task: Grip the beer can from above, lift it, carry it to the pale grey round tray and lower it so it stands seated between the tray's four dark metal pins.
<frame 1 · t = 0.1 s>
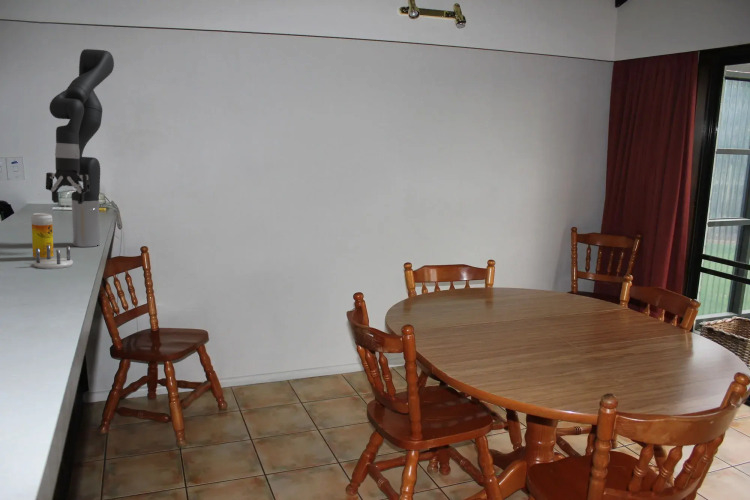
hand: (68, 203, 210), 17 cm above the table, tool pointing down, fingers open, 8 cm apart
pin tray: (53, 265, 191), on the table
beer can: (43, 258, 200), on the table
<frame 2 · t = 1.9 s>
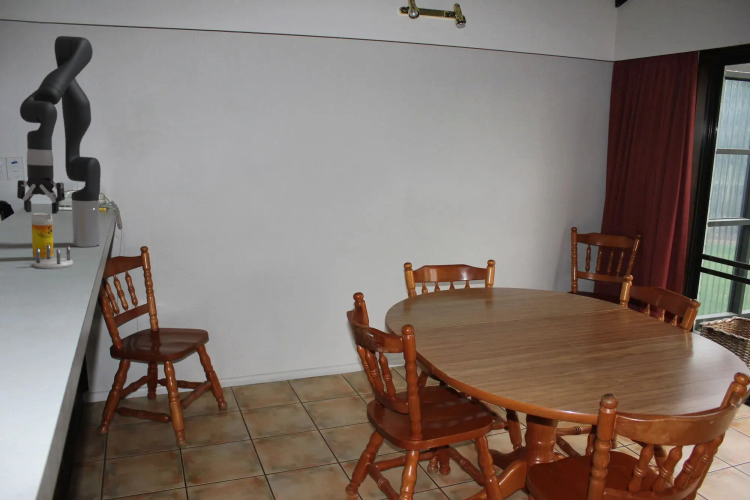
hand: (41, 212, 197), 15 cm above the table, tool pointing down, fingers open, 8 cm apart
nothing on the table moved.
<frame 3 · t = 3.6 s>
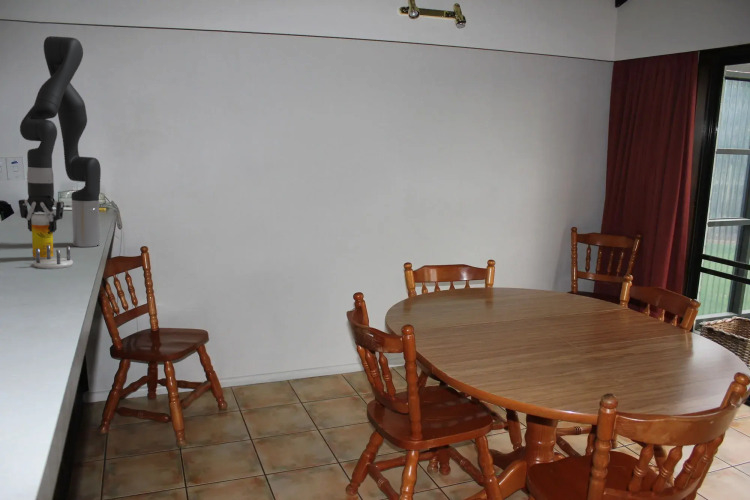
hand: (42, 231, 198), 9 cm above the table, tool pointing down, fingers closed on beer can, 6 cm apart
beer can: (43, 258, 200), on the table, touching gripper
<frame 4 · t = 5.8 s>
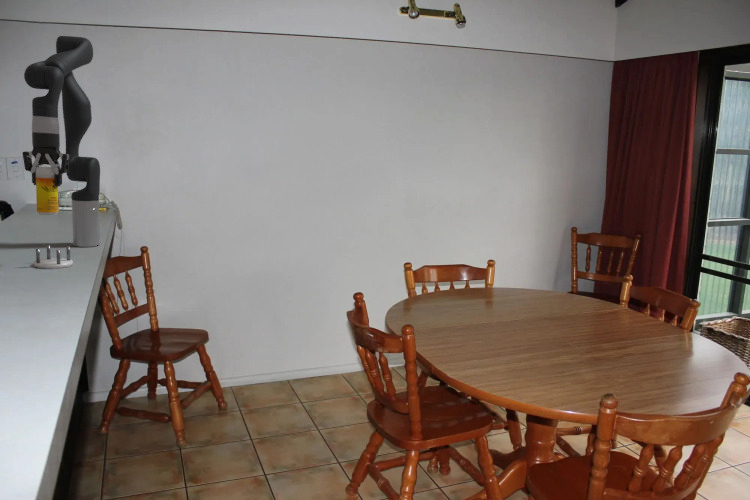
hand: (47, 185, 189), 25 cm above the table, tool pointing down, fingers closed on beer can, 6 cm apart
beer can: (47, 214, 190), point 16 cm above the table, touching gripper
when the fingers open (12 cm above the table, at t = 8.5 s): beer can drops 1 cm, resting on pin tray.
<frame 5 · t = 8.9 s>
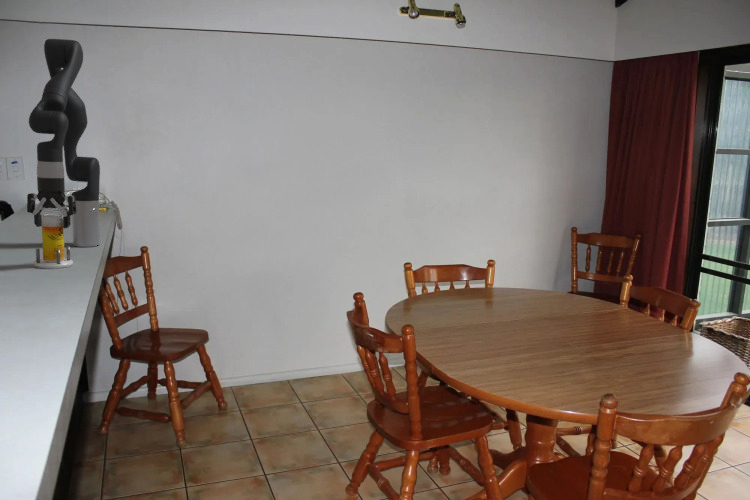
hand: (52, 227, 189), 12 cm above the table, tool pointing down, fingers open, 8 cm apart
beer can: (54, 261, 191), point 1 cm above the table, touching pin tray
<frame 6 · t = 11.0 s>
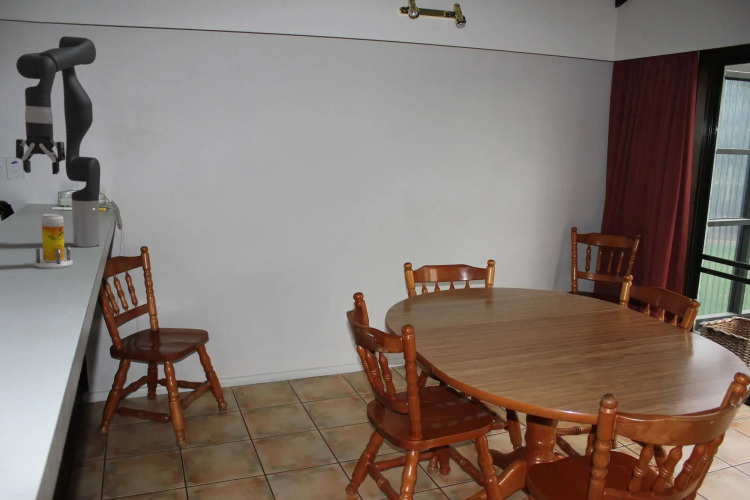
hand: (41, 173, 190), 29 cm above the table, tool pointing down, fingers open, 8 cm apart
nothing on the table moved.
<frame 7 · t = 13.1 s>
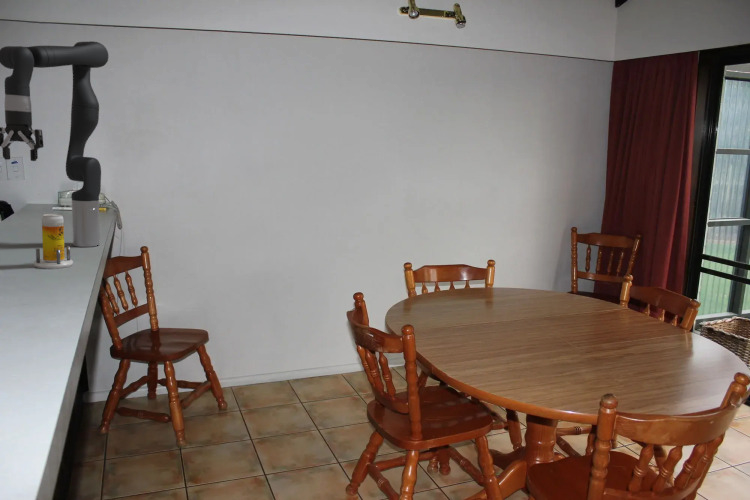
hand: (20, 160, 197), 32 cm above the table, tool pointing down, fingers open, 8 cm apart
nothing on the table moved.
at the end: beer can 0.1 cm off-centre on the pin tray, point 1.0 cm above the pin tray's base; beer can tilted 0°; the gripper is holding nothing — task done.
